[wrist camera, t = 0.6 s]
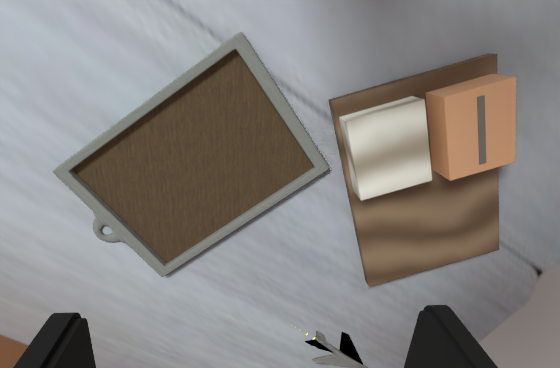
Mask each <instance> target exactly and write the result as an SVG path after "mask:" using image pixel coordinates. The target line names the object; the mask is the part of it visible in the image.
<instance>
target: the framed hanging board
mask: <svg viewBox="0 0 560 368" xmlns="http://www.w3.org/2000/svg"><path fill="white" fill-rule="evenodd" d="M328 169H329V166H328V164H327V163H326V161H325V160H324V158H323V156H322V155H321V153H320V152H319V150H318V149H317V147H316V146H315V144H314V143H313V141H312V139H311V138H310V136H309V135H308V133H307V132H306V130H305V129H304V127H303V126H302V124H301V122H300V121H299V119H298V118H297V116H296V115H295V113H294V112H293V110H292V109H291V107H290V105H289V104H288V102H287V101H286V99H285V98H284V96H283V95H282V93H281V91H280V90H279V88H278V87H277V85H276V84H275V82H274V81H273V79H272V78H271V76H270V74H269V73H268V71H267V70H266V68H265V67H264V65H263V64H262V62H261V61H260V59H259V57H258V56H257V54H256V53H255V51H254V50H253V48H252V47H251V45H250V44H249V42H248V40H247V39H246V37H245V36H244V34H243V33H242V32H240V33H238V34H236V35H235V36H234V37H232V38H231V39H230V40H228V41H227V42H226V43H224V44H223V45H222V46H220V47H219V48H217V49H216V50H215V51H213V52H212V53H211V54H209V55H208V56H207V57H205V58H204V59H203V60H201V61H200V62H199V63H197V64H196V65H195V66H193V67H192V68H190V69H189V70H188V71H186V72H185V73H184V74H182V75H181V76H180V77H178V78H177V79H176V80H174V81H173V82H172V83H170V84H169V85H168V86H166V87H165V88H164V89H162V90H161V91H159V92H158V93H157V94H155V95H154V96H153V97H151V98H150V99H149V100H147V101H146V102H145V103H143V104H142V105H141V106H139V107H138V108H137V109H135V110H134V111H132V112H131V113H130V114H128V115H127V116H126V117H124V118H123V119H122V120H120V121H119V122H118V123H116V124H115V125H114V126H112V127H111V128H110V129H108V130H107V131H106V132H104V133H103V134H101V135H100V136H99V137H97V138H96V139H95V140H93V141H92V142H91V143H89V144H88V145H87V146H85V147H84V148H83V149H81V150H80V151H79V152H77V153H76V154H74V155H73V156H72V157H70V158H69V159H68V160H66V161H65V162H64V163H62V164H61V165H60V166H58V167H57V168H56V169H55V170H53V173H54V174H55V175H56V176H57V177H58V178H59V179H60V180H61V181H62V182H63V183H64V184H65V185H66V186H68V187H69V188H70V189H71V190H72V191H73V192H74V193H75V194H76V195H77V196H78V197H79V198H80V199H81V200H82V201H83V202H84V203H85V204H86V205H87V206H88V207H89V208H90V209H91V210H92V211H93V213H94V215H95V217H96V218H95V220H94V223H93V230H94V233H95V235H96V236H97V237H98V238H99V239H101V240H103V241H106V242H118V241H121V242H123V243H127V244H128V245H129V246H130V247H131V248H132V249H133V250H134V251H135V252H136V253H137V254H138V255H139V256H140V257H141V258H142V259H143V260H144V261H145V262H147V263H148V264H149V265H150V266H151V267H152V268H153V269H154V270H155V271H156V272H157V273H158V274H159V275H160V276H161V277H163V276H165V275H167V274H168V273H170V272H171V271H173V270H174V269H176V268H178V267H179V266H181V265H182V264H184V263H185V262H187V261H188V260H190V259H191V258H193V257H194V256H196V255H198V254H199V253H201V252H202V251H204V250H205V249H207V248H208V247H210V246H211V245H213V244H214V243H216V242H218V241H219V240H221V239H222V238H224V237H225V236H227V235H228V234H230V233H231V232H233V231H234V230H236V229H238V228H239V227H241V226H242V225H244V224H245V223H247V222H248V221H250V220H251V219H253V218H254V217H256V216H258V215H259V214H261V213H262V212H264V211H265V210H267V209H268V208H270V207H271V206H273V205H274V204H276V203H278V202H279V201H281V200H282V199H284V198H285V197H287V196H288V195H290V194H291V193H293V192H294V191H296V190H298V189H299V188H301V187H302V186H304V185H305V184H307V183H308V182H310V181H311V180H313V179H314V178H316V177H318V176H319V175H321V174H322V173H324V172H325V171H327V170H328ZM104 225H105V226H108V227H110V228H111V229H112V232H113V233H112V234H110V235H105V234H103V233H102V231H101V229H102V227H103V226H104Z"/></svg>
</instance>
